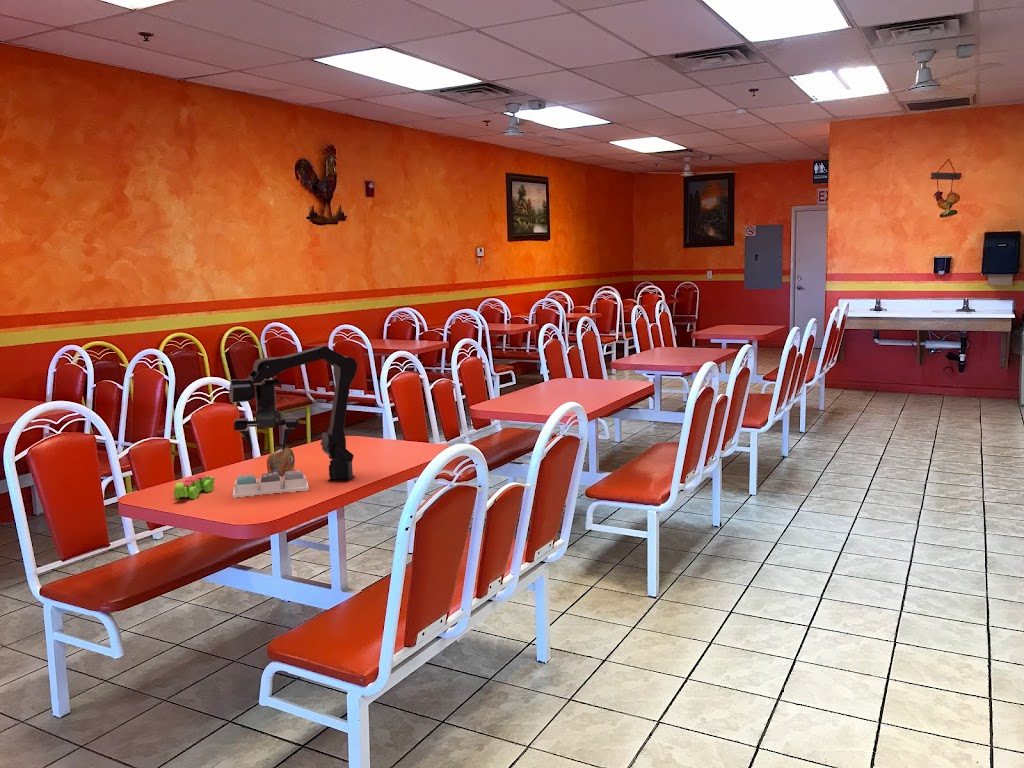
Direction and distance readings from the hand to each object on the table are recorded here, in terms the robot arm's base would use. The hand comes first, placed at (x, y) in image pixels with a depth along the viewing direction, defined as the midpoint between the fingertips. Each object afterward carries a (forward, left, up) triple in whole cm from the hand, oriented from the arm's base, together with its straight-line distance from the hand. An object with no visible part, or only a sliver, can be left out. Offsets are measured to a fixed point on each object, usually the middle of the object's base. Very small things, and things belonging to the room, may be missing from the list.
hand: (267, 451), depth 255 cm
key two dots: (-6, -3, -10) cm, 12 cm away
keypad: (0, 0, -12) cm, 12 cm away
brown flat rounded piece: (+7, -19, -13) cm, 24 cm away
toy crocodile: (+21, +7, -13) cm, 26 cm away
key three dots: (0, 0, -10) cm, 10 cm away
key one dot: (+6, +4, -10) cm, 12 cm away
